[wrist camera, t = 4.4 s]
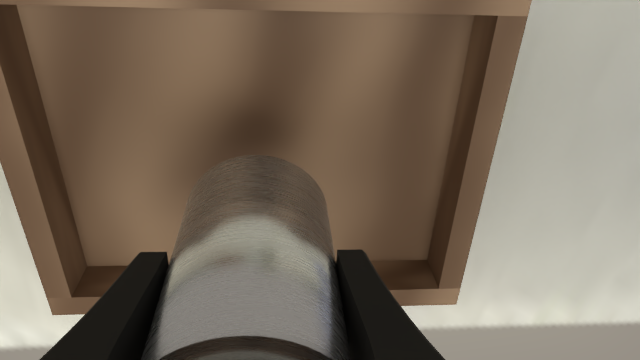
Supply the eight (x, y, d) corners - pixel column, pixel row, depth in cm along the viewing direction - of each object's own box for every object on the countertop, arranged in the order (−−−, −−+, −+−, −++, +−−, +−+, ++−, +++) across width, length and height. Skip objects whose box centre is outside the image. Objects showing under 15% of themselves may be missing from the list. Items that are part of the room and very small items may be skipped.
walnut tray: (504, -29, 18) (535, -17, 16) (441, 268, 25) (456, 304, 23) (-21, -45, 16) (-66, -33, 14) (73, 275, 23) (52, 314, 21)
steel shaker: (356, 228, 14) (411, 468, 8) (246, 292, 15) (226, 550, 9) (271, 125, 13) (266, 339, 7) (153, 205, 14) (52, 456, 8)
